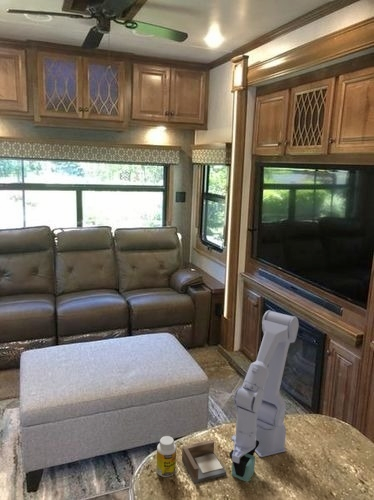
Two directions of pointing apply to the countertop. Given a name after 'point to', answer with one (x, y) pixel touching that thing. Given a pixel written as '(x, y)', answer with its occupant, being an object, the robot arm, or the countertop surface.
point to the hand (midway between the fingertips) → (243, 469)
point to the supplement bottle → (166, 457)
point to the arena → (202, 461)
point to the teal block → (248, 470)
